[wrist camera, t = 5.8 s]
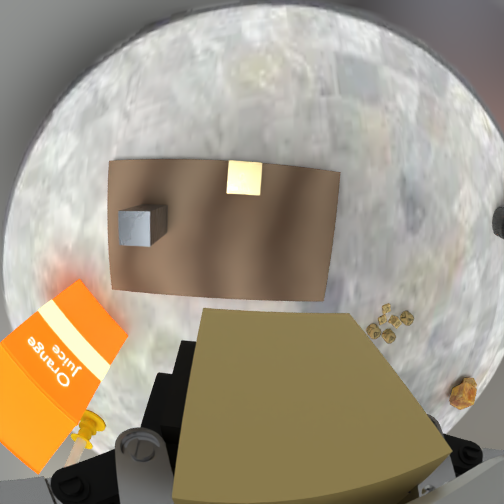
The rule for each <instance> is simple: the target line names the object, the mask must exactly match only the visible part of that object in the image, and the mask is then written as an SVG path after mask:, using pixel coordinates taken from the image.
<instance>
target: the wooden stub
mask: <svg viewBox="0 0 504 504" xmlns="http://www.w3.org/2000/svg"><path fill="white" fill-rule="evenodd" d="M261 174H262V163H260V162H247V161H231V160H229V167H228V181H227V193H232V194H248V195H260V187H261Z"/></svg>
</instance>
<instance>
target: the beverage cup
mask: <svg viewBox="0 0 504 504" xmlns="http://www.w3.org/2000/svg"><path fill="white" fill-rule="evenodd" d="M492 224H493V231H494V233H495V235H497V236H499V237H501V238H502V239H504V207H498V208H497V209H496V211H495V213H494V216H493V222H492Z"/></svg>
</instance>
